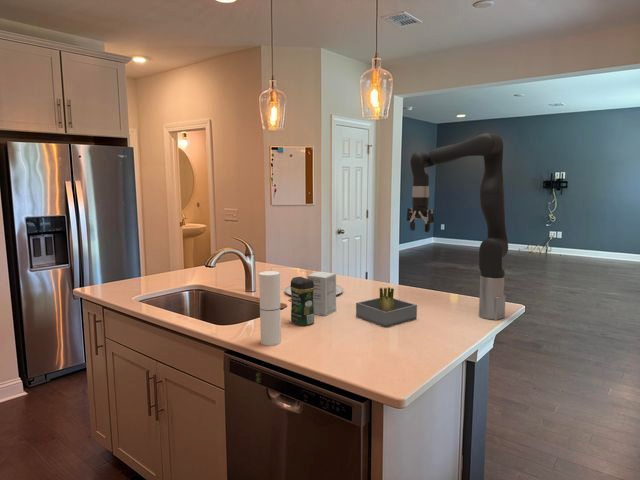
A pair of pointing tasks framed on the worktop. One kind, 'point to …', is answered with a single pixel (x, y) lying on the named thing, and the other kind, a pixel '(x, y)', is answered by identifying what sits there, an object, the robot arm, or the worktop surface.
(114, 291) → the worktop surface
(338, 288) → the plated food
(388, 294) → the fennel bulb
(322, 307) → the supplement box
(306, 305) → the coffee jar
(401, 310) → the bin
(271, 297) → the cylindrical container
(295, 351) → the worktop surface
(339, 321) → the worktop surface
